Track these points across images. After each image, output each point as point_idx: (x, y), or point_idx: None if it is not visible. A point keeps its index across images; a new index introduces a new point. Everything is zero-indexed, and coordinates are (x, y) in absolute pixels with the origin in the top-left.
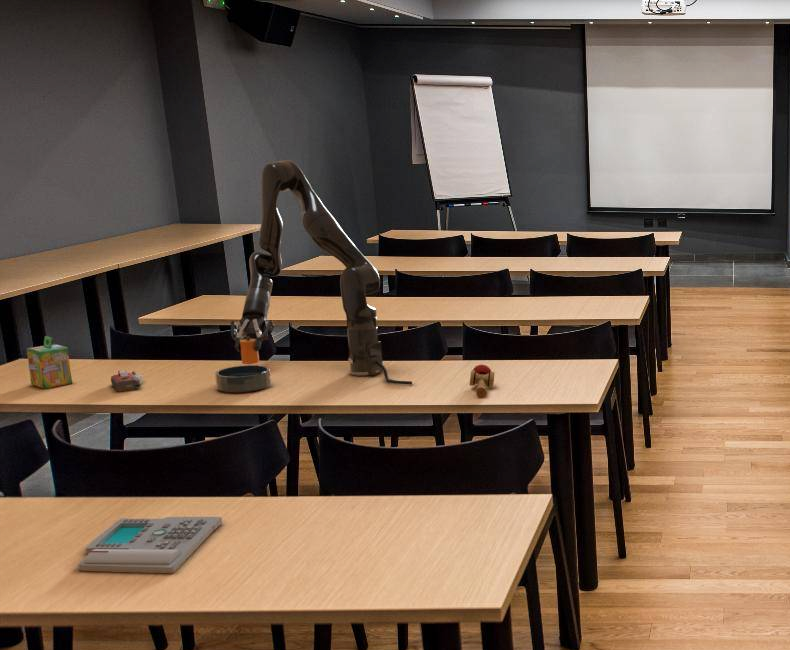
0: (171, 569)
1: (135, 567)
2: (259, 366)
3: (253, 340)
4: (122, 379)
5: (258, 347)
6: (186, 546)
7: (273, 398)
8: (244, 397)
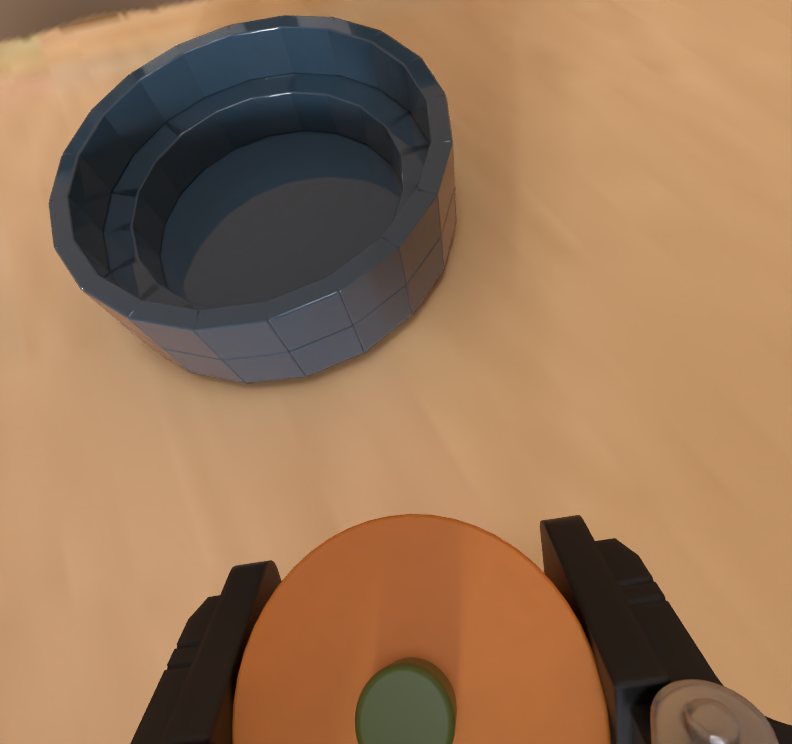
0: None
1: None
2: (166, 305)
3: (286, 705)
4: None
5: (212, 608)
6: None
7: (54, 105)
8: None
